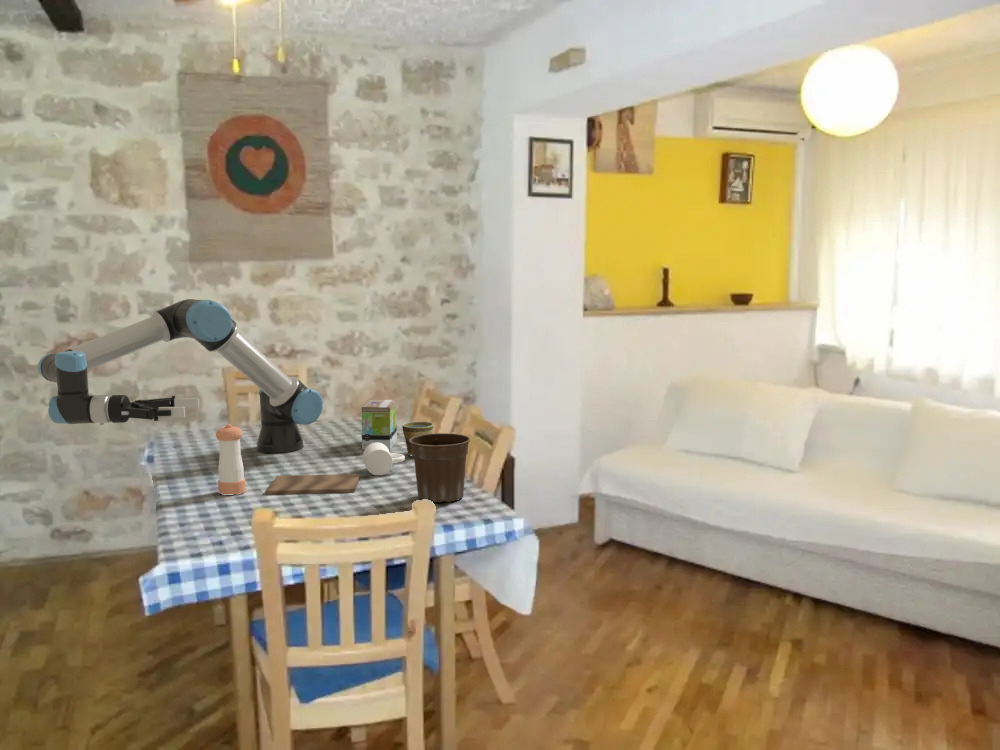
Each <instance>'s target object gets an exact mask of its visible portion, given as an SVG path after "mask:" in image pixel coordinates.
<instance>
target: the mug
mask: <svg viewBox="0 0 1000 750" xmlns="http://www.w3.org/2000/svg"><path fill="white" fill-rule="evenodd" d="M362 455H363V461H364V464H365V467H366V470H367V471H368V472H369V473H370V474H371V475H374V476H376V475H381V476H385V475H386V474H388V473H389V472H390V471H391V470H392V467H393V465H394V464H397V463H402V462H404V461H405V460H406V459H405V458H406V456H405V455H404V454H402V453H395V452H394V453H393V452H390V450H389V449H388V448H387V447H386V446H385V445H384V444H382V443H378V442H376V443H372V444H370V445H368V446H367V447H366V449H365V450H364V451H363V454H362Z"/></svg>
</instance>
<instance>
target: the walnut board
mask: <svg viewBox="0 0 1000 750" xmlns="http://www.w3.org/2000/svg"><path fill="white" fill-rule="evenodd" d="M360 478H361V474H360V473H340V474H339V473H337V474H335V473H334V474H301V475H299V474H298V475H276V477H275V478H274V480H273V481H272V482H271V483H270V485H269V486H268V487H267V489H266V490H265V494H267V495H296V494H297V495H299V494H300V495H301V494H302V495H303V494H333V493H334V494H335V493H337V494H339V493H342V494H343V493H355V491H356V489H357V487H358V483H359V482H360Z"/></svg>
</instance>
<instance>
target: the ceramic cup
mask: <svg viewBox="0 0 1000 750" xmlns="http://www.w3.org/2000/svg"><path fill="white" fill-rule="evenodd" d="M401 427H402V433H403V437H404V440H405V444H406V449H407V455H408V456H409V455H412V456H413V454H412V446H411V443H410V442H409V440H410V438H412V437H415V436H419V435H425V434H433V430H434V423H432V422H429V421H409V422H405V423H403V424H402V426H401Z"/></svg>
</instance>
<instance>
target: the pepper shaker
mask: <svg viewBox="0 0 1000 750" xmlns="http://www.w3.org/2000/svg"><path fill="white" fill-rule="evenodd" d="M243 435H244V434H243V431H242V429H241V428H240V427H237V426H234V425H233V426H232V424H231V423H227V424H226V425H225V426H222V427H220V428H218V429H217V431H216V432H215V437H216V440H218V444H219V445H218V448H219V449H218V450H219V459H218V469H217V470H218V481H217V489H218V491H219V492H220V493H223V494H238V493H243V492H245V491H246V492H247V485H246V483H247V482H246V478H245V477H244V476H245V475H244V469H245V468H244V464H243V458H242V454H241V453H242V451H241V438H242V437H243ZM219 492H218V493H219ZM246 492H245V493H246ZM243 494H244V493H243Z"/></svg>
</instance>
